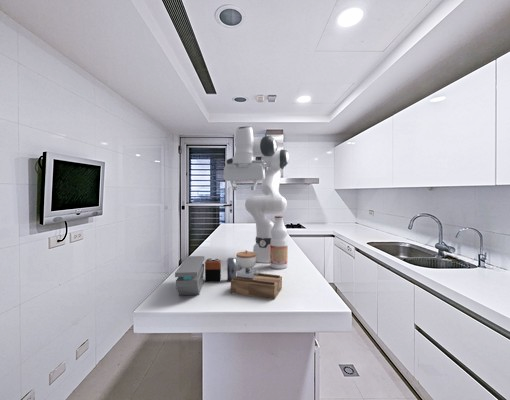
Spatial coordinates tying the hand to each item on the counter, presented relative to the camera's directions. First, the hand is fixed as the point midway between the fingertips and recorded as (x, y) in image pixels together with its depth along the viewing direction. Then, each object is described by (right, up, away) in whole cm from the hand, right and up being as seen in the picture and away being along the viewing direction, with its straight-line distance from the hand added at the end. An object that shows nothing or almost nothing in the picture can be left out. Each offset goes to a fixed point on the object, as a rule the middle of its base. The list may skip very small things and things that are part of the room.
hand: (243, 190), depth 118 cm
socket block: (+6, -42, -15) cm, 45 cm away
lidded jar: (+1, -41, +17) cm, 45 cm away
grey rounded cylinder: (-5, -42, -3) cm, 42 cm away
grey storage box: (-21, -42, -14) cm, 49 cm away
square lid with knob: (+2, -37, -14) cm, 39 cm away
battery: (-14, -42, -3) cm, 44 cm away
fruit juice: (+18, -41, +20) cm, 49 cm away
